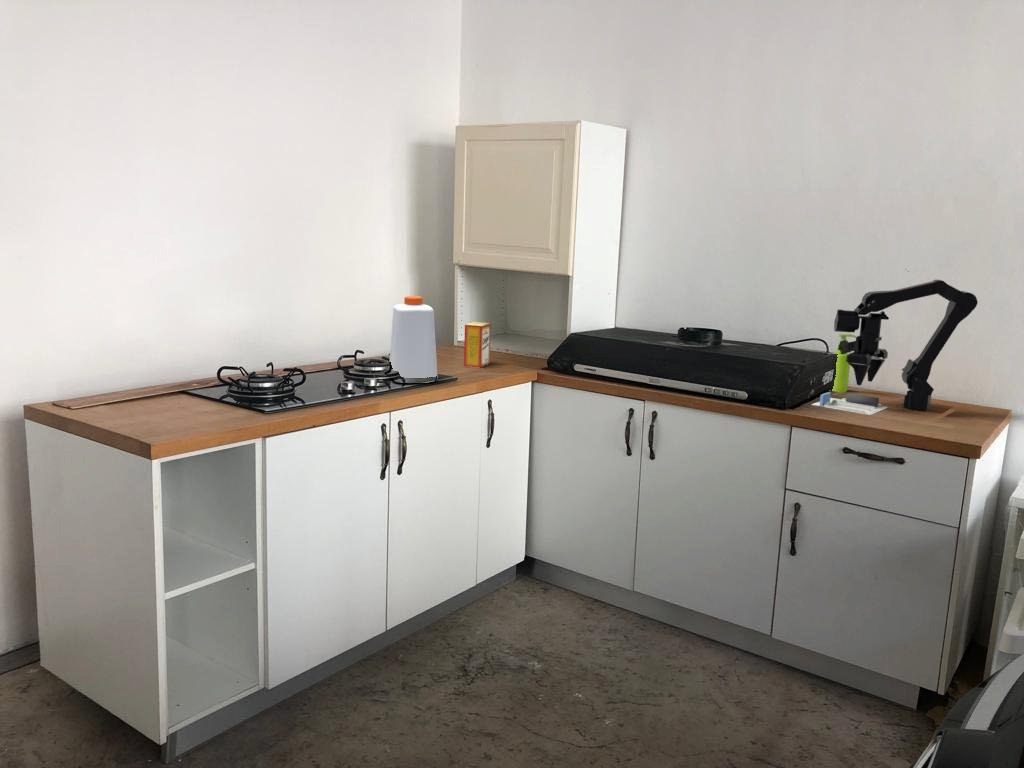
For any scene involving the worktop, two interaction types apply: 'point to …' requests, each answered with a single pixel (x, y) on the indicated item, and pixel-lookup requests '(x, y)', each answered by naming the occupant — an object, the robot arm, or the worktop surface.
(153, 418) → the worktop surface
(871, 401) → the dark grey bar
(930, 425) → the worktop surface
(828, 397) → the board
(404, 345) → the plastic bottle
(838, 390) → the soap dispenser
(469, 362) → the baking soda box
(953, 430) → the worktop surface
